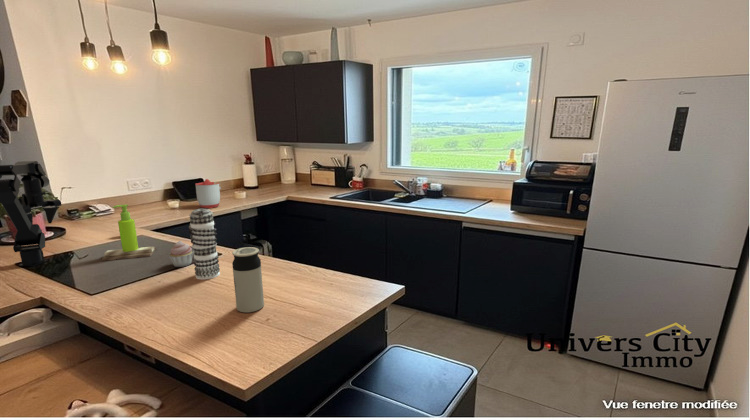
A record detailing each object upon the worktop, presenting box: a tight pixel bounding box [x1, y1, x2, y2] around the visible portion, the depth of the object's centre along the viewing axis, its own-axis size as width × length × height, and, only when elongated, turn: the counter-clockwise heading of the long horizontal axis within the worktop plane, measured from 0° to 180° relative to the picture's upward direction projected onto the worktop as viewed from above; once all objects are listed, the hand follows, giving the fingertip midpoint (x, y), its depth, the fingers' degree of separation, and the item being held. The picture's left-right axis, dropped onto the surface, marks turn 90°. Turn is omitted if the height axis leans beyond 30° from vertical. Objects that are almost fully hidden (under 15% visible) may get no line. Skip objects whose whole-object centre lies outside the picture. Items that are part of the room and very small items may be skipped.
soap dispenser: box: [112, 204, 139, 252], centre depth 162 cm, size 6×7×20 cm
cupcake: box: [168, 240, 194, 268], centre depth 151 cm, size 9×9×10 cm
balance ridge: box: [101, 246, 157, 262], centre depth 165 cm, size 18×10×2 cm, turn 107°
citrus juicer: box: [194, 178, 222, 209], centre depth 266 cm, size 16×17×20 cm
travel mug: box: [231, 246, 265, 314], centre depth 113 cm, size 8×8×18 cm
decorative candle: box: [188, 208, 221, 281], centre depth 138 cm, size 9×9×25 cm
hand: (40, 225), depth 165 cm, fingers open, 9 cm apart
